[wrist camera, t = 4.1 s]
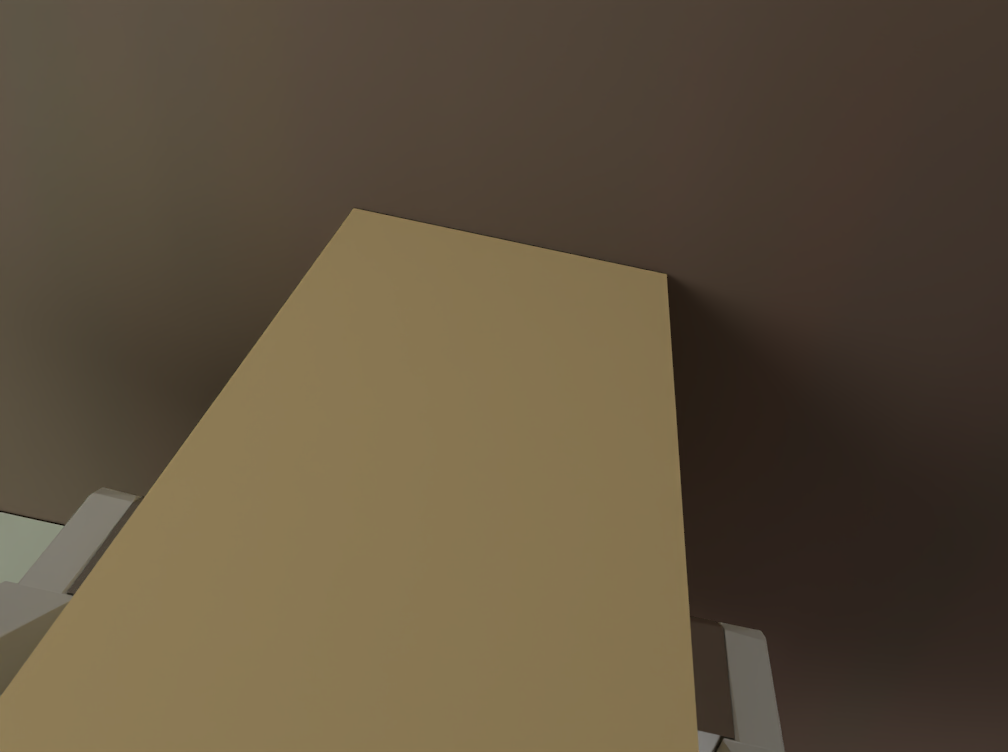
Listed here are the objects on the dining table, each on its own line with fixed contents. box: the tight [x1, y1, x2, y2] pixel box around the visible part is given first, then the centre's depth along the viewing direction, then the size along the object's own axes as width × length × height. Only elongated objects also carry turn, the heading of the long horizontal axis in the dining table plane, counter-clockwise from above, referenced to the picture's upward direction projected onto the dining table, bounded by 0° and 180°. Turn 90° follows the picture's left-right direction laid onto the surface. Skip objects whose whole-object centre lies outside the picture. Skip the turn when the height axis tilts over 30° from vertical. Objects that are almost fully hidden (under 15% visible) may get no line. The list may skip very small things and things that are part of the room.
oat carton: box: [0, 208, 699, 752], centre depth 10 cm, size 5×5×13 cm
